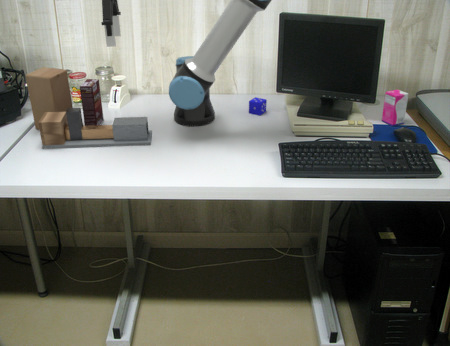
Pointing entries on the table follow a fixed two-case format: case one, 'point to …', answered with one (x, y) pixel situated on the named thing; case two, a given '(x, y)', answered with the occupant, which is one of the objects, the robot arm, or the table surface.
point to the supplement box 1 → (91, 102)
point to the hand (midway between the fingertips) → (114, 41)
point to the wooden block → (48, 91)
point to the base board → (100, 143)
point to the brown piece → (84, 127)
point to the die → (257, 106)
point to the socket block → (53, 128)
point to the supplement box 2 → (394, 107)
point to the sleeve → (130, 129)
